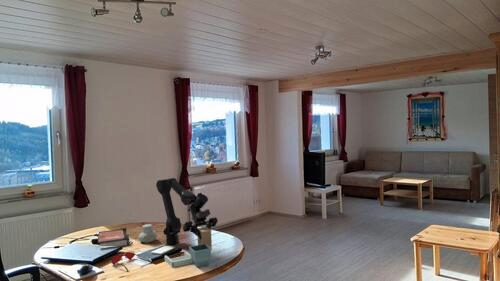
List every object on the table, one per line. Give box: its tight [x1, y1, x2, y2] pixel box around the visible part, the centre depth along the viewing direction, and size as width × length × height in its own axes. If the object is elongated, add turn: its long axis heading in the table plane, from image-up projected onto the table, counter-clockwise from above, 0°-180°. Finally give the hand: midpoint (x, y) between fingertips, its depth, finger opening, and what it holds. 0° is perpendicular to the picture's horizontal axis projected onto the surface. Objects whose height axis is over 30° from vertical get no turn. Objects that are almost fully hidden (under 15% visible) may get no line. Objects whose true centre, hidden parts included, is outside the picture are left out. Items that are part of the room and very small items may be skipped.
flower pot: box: [188, 244, 212, 268], centre depth 191 cm, size 9×9×9 cm
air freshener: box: [138, 223, 158, 244], centre depth 235 cm, size 11×8×10 cm
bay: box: [164, 251, 194, 268], centre depth 197 cm, size 12×12×2 cm
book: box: [97, 227, 130, 247], centre depth 238 cm, size 26×18×5 cm
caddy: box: [197, 226, 213, 251], centre depth 203 cm, size 7×5×11 cm
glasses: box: [110, 250, 153, 273], centre depth 195 cm, size 14×16×5 cm
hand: (205, 237), depth 202 cm, fingers closed on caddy, 5 cm apart
